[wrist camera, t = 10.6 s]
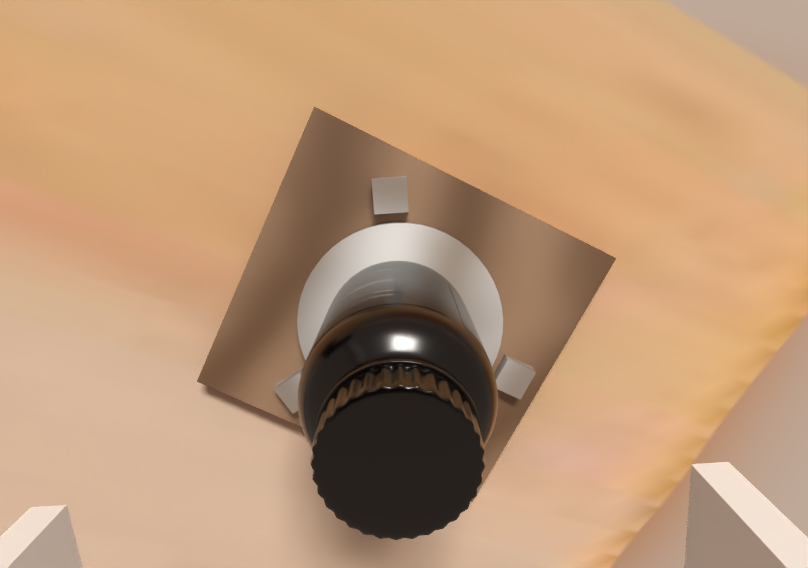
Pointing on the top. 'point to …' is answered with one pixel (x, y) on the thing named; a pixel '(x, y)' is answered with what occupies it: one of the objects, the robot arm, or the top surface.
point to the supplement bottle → (397, 402)
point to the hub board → (397, 241)
